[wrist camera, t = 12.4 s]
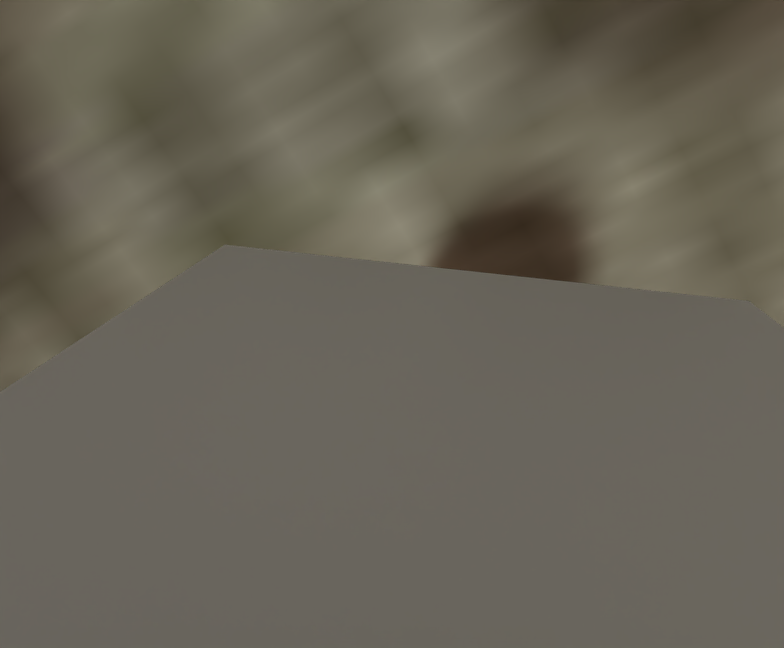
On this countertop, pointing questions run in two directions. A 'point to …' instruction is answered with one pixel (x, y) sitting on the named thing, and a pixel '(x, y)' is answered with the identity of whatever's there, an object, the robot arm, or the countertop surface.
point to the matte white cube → (397, 466)
